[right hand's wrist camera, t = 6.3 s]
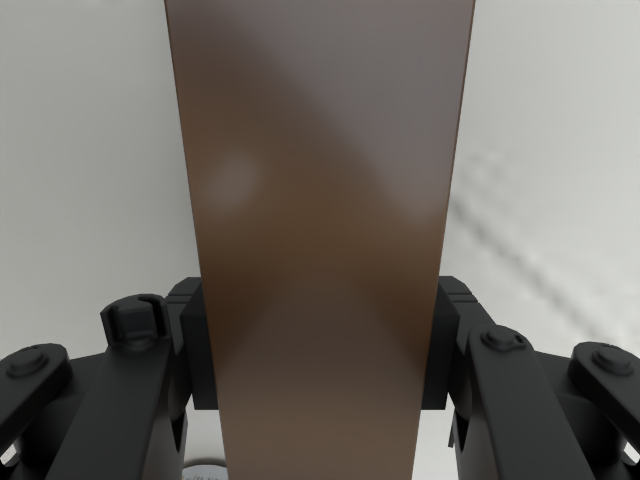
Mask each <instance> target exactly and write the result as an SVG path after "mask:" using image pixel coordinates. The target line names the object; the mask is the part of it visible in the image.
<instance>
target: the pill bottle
mask: <svg viewBox="0 0 640 480" xmlns="http://www.w3.org/2000/svg"><path fill="white" fill-rule="evenodd" d="M181 480H228V474H227V468H225V467H221V466H216V465H197V466H192V467H188V468H185V469H183V470H182V478H181Z"/></svg>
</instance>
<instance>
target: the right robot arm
mask: <svg viewBox="0 0 640 480" xmlns="http://www.w3.org/2000/svg"><path fill="white" fill-rule="evenodd" d="M100 315H101V319H102V323H103V327H104V331H105V334H106V338H107V342H108V347H107V349H106V351H105V352H104V353H100V354H96V355H91V356H86V357H81V358H76V359H71V360H69V357H68V353H67V350H66V348H64V347H63V346H62V345H59V344H53V343H48V344H38V345H33V346H31V347H26V348H23V349H21V350H19V351H17V352H15V353H13V354H10V355H8V356H7V357H5V358H4V359H2V360H1V361H0V457H1V456H2V455H3V454H4V453H5V451H6V450H7V449H8V448H9V447H10V446H11V445H12V444H13V445H14V447H15V449H16V454H15V455H14V456H13V457H12V458H11V459H10V460H9V461H8V462H7V463H6V464H4V465H3V464H2V462H1V460H0V480H181V478H182V470H183V461H184V453H185V444H186V435H187V427H188V421H187V415H186V409H185V408H186V405H187V403H188V401H189V398H190V396H191V394H192V396H193V403H194V409H195V410H219V407H218V400H217V392H216V385H215V377H214V370H213V362H212V355H211V347H210V340H209V332H208V325H207V317H206V310H205V302H204V295H203V288H202V280H201V277H187V278H186V279H184V280H183V281H181V282H179V283H178V284H176V285H175V286H174V287H173V289H172V290H171V291H170V293H169V294H168V296H166V298H165V299H164V298H163V297H162V296H160V295H155V294H138V295H133V296H128V297H125V298H122V299H120V300H117V301H115V302H113V303H111V304H110V305H108V306H106V307H105V308H104V309H103V310H102V312H101V313H100ZM448 392H449V395H450V397H451V399H452V402H453V404H454V406H455V409H454V415H453V420H452V426H451V432H450V437H449V443H448V447H452V448H453V444H454V443H455V452H456V460H457V469H458V478H459V480H640V459H639V461H638V463H635V462H634V461H633V460H632V459H631V458H630V457H629V456H628V455H627V454H626V453H625V452H624V449H625V446H626V444H627V441H628V442H629V443H630V445H631V446H632V447H633V448H634V449H635V450H636V451H637V452H638V453H639V455H640V359H639V358H638V357H636V356H635V355H633V354H632V353H629V352H627V351H625V350H623V349H621V348H619V347H617V346H614V345H609V344H606V343H598V342H583V343H579V344H578V345H576V346H575V347H574V349H573V352H572V356H571V358H567V357H562V356H557V355H552V354H547V353H542V352H538V351H534V349H533V347H532V345H531V343H530V342H529V341H528V340H527V338H526V337H524V336H523V335H521V334H520V333H518V332H517V331H515V330H512V329H510V328H508V327H505V326H501V325H496V323H495V322H494V321H493V320H492V318H491V317H490V316H489V314H488V313H487V312H486V311H485V309H484V308H483V307H482V305H481V304H480V303H478V300H477V299H476V298H475V296H474V295H472V293H471V291H470V290H469V289H468V287H467V286H466V285H465V284H464V283H462V282H461V281H459V280H458V279H456V278H454V277H453V276H439V278H438V286H437V293H436V300H435V308H434V315H433V323H432V330H431V338H430V345H429V353H428V360H427V368H426V375H425V383H424V390H423V398H422V405H421V410H445V407H446V401H447V395H448Z"/></svg>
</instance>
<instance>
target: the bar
mask: <svg viewBox="0 0 640 480" xmlns="http://www.w3.org/2000/svg"><path fill="white" fill-rule="evenodd" d="M475 1H476V0H164V4H165V11H166V19H167V26H168V33H169V41H170V48H171V56H172V63H173V71H174V78H175V86H176V93H177V101H178V108H179V116H180V123H181V131H182V138H183V146H184V153H185V160H186V168H187V175H188V183H189V190H190V198H191V205H192V213H193V220H194V228H195V235H196V243H197V250H198V258H199V265H200V273H201V280H202V288H203V295H204V302H205V310H206V317H207V325H208V332H209V340H210V347H211V355H212V362H213V370H214V377H215V385H216V392H217V400H218V407H219V415H220V422H221V429H222V437H223V444H224V452H225V459H226V467H227V474H228V480H412V472H413V465H414V457H415V450H416V442H417V435H418V428H419V420H420V413H421V405H422V398H423V390H424V383H425V375H426V368H427V360H428V353H429V345H430V338H431V330H432V323H433V315H434V308H435V300H436V293H437V286H438V278H439V271H440V263H441V256H442V248H443V241H444V233H445V226H446V218H447V211H448V203H449V196H450V188H451V181H452V173H453V166H454V158H455V151H456V143H457V136H458V129H459V121H460V114H461V106H462V99H463V91H464V84H465V76H466V69H467V61H468V54H469V46H470V39H471V31H472V24H473V16H474V9H475Z"/></svg>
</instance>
